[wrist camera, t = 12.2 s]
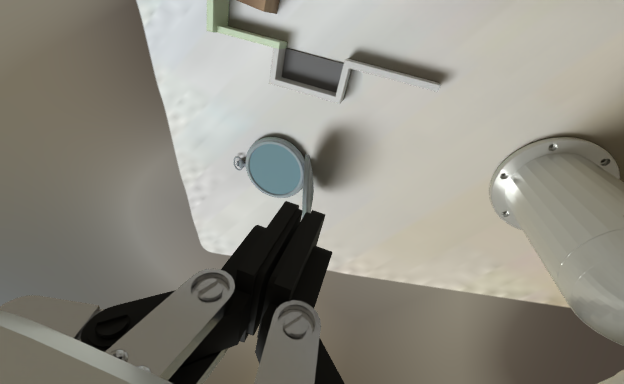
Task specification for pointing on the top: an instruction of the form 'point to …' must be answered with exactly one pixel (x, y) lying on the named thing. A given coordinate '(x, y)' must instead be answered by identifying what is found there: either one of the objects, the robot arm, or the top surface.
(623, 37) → the top surface
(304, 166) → the pocket watch
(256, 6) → the walnut block
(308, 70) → the box
